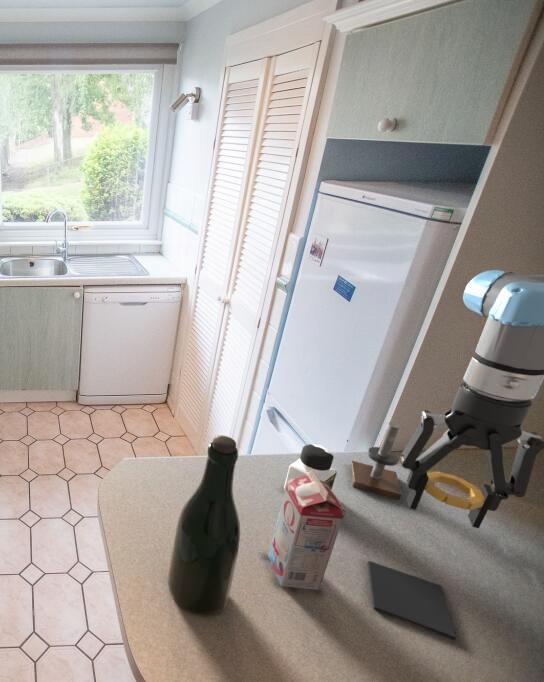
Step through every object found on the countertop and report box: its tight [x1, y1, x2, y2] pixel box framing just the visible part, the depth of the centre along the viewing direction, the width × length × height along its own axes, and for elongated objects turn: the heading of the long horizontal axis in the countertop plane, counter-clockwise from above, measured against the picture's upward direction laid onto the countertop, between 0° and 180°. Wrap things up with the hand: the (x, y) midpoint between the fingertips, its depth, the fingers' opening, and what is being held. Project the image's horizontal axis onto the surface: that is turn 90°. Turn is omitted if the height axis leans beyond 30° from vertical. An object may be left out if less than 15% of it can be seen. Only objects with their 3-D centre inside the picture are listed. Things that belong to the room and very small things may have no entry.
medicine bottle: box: [283, 443, 338, 491], centre depth 103 cm, size 7×7×12 cm
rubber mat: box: [367, 560, 457, 640], centre depth 80 cm, size 11×11×1 cm
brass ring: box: [424, 471, 485, 511], centre depth 72 cm, size 7×7×1 cm
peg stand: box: [350, 422, 403, 501], centre depth 105 cm, size 9×9×16 cm
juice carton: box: [267, 467, 346, 591], centre depth 81 cm, size 7×7×22 cm
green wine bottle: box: [167, 435, 241, 617], centre depth 76 cm, size 10×10×33 cm
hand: (441, 512), depth 74 cm, fingers closed on brass ring, 7 cm apart
